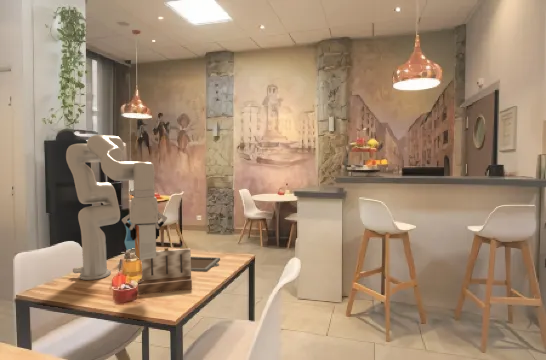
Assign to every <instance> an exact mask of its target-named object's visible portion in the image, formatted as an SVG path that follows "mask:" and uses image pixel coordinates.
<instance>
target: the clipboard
mask: <svg viewBox="0 0 546 360" xmlns="http://www.w3.org/2000/svg"><path fill="white" fill-rule="evenodd" d="M219 261H221V257H212V256H211V257H209V256H206V257H205V256H191V272H208V271H209V270H210V269H211V268H213V267H214V268H215V267H219V266H220V264H219V263H218V262H219Z"/></svg>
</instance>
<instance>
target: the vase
mask: <svg viewBox="0 0 546 360" xmlns="http://www.w3.org/2000/svg"><path fill="white" fill-rule="evenodd" d="M127 221H128V222H129V223H130V224H131V225H132V223H131V222H130V219H128V220H127ZM124 227H125V230H126V231H125V232H126V233H125V239H124V240H123V241H124V246H125V248H126V251H127V250H128V249H132V248H135V240H132V238H131V236H130V229H129V228H128V227H127V226H126V225H125V224H124ZM134 228H135V226H134Z"/></svg>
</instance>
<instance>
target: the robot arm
mask: <svg viewBox="0 0 546 360" xmlns="http://www.w3.org/2000/svg"><path fill="white" fill-rule="evenodd" d="M124 145H125V144H124V141H123V139H122V138H121V137H119V136H116V135H112V134H111V135H107V134H95V135H91V136H90V137H88V139H87V141H86V143H74V144H71V145H69V146H68V148H67V149H66V153H65V159H66V163H67V165H68V168H69V170H70V172H71V174H72V177H73V180H74V181H73V182H74V185H75V186H74V187H75V191H76V196H77V200H78V201H79V203H81V204H83V205H91V204H98V205H91V206H85V207H83V208H82V209H80V211H78V215H77V219H78V223H79V227H80V235H81V249H82V250H81V251H82V266H80V267H74V268H72V273H74V274H79V279H80V280H83V281H92V280H98V279H103V278H107V277H108V276H110V275H111V274H112V272H111V271H112V270H110V269H109V268H108V264H107V243H106V242H107V241H106V239H107V238H106V234H105V232H104V231H103V230H102V229H101V227H104V226H109V225H114V224H116V223H117V224H118V223H119V221H120V219H121V211H120V210H121V209H120V205H119V201H118V197H117V196H118V195H117V192H116V189H115V187H114V185H113V184H112V183H110V182H107V181H105V182H104V181H103V182H98V181H97V180H96V175H95V172H94V171H93V169H92V168H91V167H90V166H89V165H87V164H86V163H100V167H101V170H102V172H103V173H104V175H106V176H107V177H108V178H109V179H111V180H113V181H114V182H115V181H116V182H123V181H124V182H126V181H133V190H131V191H129V195H131V196H133V197H132V198H131V201H130V209H129V210H130V211H129V213H128V214H127V215H125V217H123V218H122V219H121V222H122V223H123V225H124V226H125V225H126V226H127V227H128V228H129V229H130V236H131V238H132V240H135V228H134V226H135V224H155V225H156V240H157V239H158V237H160V228H161V227H163V225H164V224H165V222H167V219H168V217H167V216H166V215H164V214H163V213H161V212H159V204H158V199H157V197H156V196H155V193H156V192H155V190H156V189H155V166H154V165H155V164H154V163H152V162H151V161H150V162H149V161H137V160H136V161H133V160H132V161H131V160H129V161H121V160H122V158H123V150H124ZM100 203H102V205H99V204H100ZM159 218H160V219H161V221H160V222H158V221H159V220H160V219H159ZM129 220H130V222H131V223H132V225H131V224H130V223H129V222H128V221H129Z"/></svg>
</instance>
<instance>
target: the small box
mask: <svg viewBox="0 0 546 360" xmlns="http://www.w3.org/2000/svg"><path fill="white" fill-rule="evenodd" d="M156 251H157V239H156V225H155V224H135V255H136V256H137V257H138V258H139V260H138V261H142V260H144V259H151V258H156Z"/></svg>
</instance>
